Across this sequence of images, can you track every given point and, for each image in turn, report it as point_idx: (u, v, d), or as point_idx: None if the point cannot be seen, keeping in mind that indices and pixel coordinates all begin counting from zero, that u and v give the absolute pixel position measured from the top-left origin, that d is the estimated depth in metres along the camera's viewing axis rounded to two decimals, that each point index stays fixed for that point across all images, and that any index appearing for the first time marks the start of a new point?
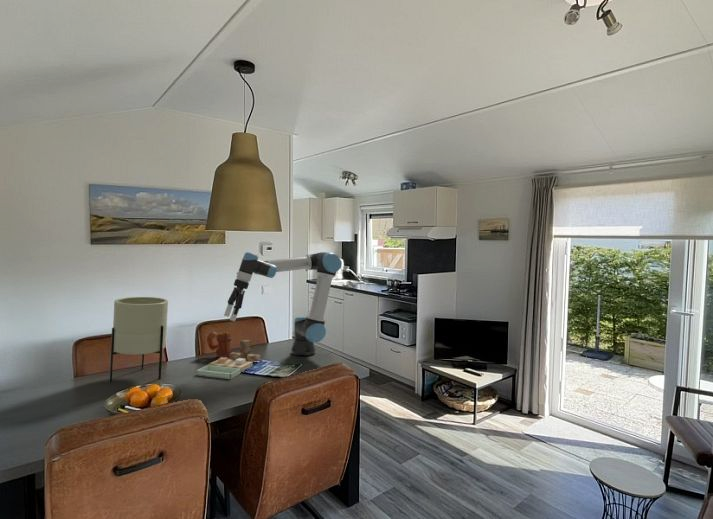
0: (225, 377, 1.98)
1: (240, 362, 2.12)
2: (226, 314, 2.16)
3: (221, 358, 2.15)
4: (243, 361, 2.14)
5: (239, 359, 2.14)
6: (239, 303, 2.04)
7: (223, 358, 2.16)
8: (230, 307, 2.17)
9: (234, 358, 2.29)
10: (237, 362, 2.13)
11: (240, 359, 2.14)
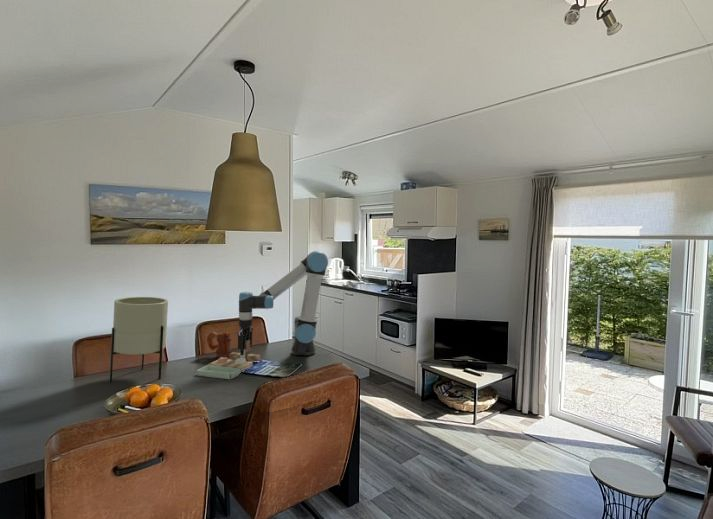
0: (225, 377, 1.98)
1: (240, 362, 2.12)
2: None
3: (221, 358, 2.15)
4: (243, 361, 2.14)
5: (239, 359, 2.14)
6: (239, 345, 2.23)
7: (223, 358, 2.16)
8: None
9: (234, 358, 2.29)
10: (237, 362, 2.13)
11: (240, 359, 2.14)
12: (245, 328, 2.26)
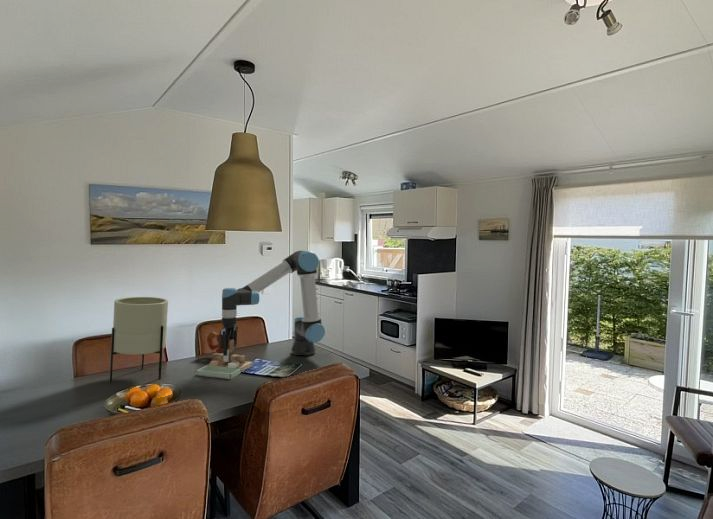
0: (225, 377, 1.98)
1: (233, 366, 2.06)
2: None
3: (214, 361, 2.10)
4: (236, 365, 2.07)
5: (232, 363, 2.08)
6: (222, 345, 2.07)
7: (216, 361, 2.11)
8: None
9: (217, 359, 2.13)
10: (230, 366, 2.06)
11: (233, 363, 2.08)
12: (228, 327, 2.10)
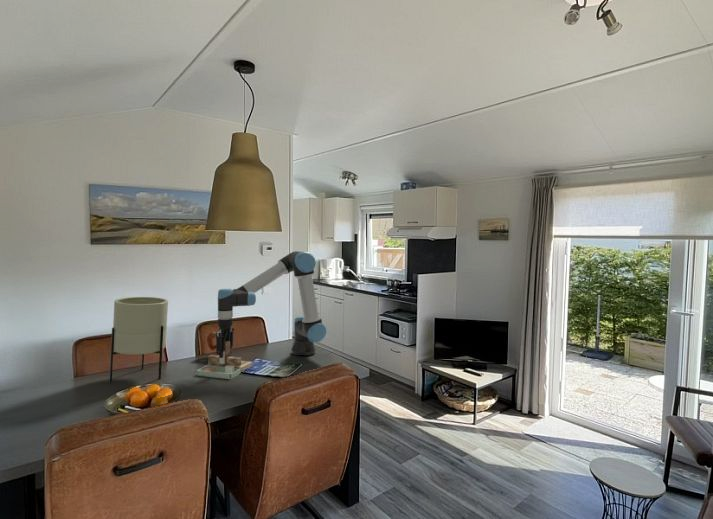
0: (225, 377, 1.98)
1: None
2: None
3: None
4: (232, 370, 2.04)
5: (227, 371, 2.04)
6: (218, 347, 2.03)
7: None
8: None
9: (213, 361, 2.09)
10: None
11: (228, 370, 2.03)
12: (224, 328, 2.06)
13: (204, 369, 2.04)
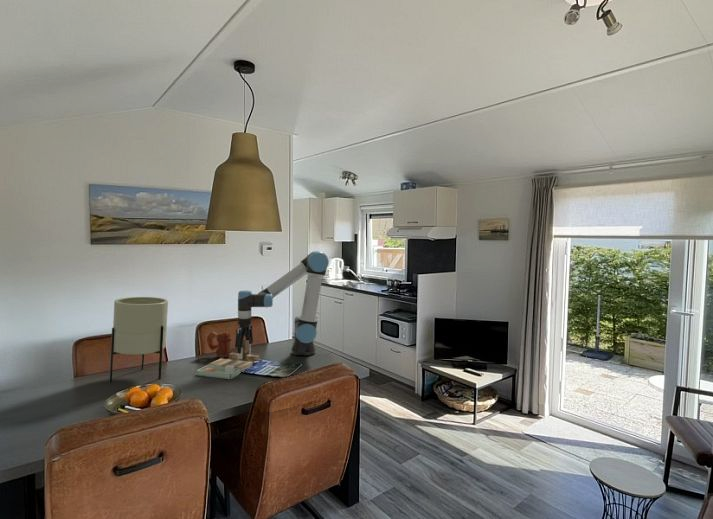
0: (225, 377, 1.98)
1: None
2: None
3: None
4: (232, 370, 2.04)
5: (227, 371, 2.04)
6: (236, 343, 2.20)
7: None
8: None
9: (233, 358, 2.28)
10: None
11: (228, 370, 2.03)
12: (244, 327, 2.25)
13: (204, 369, 2.04)
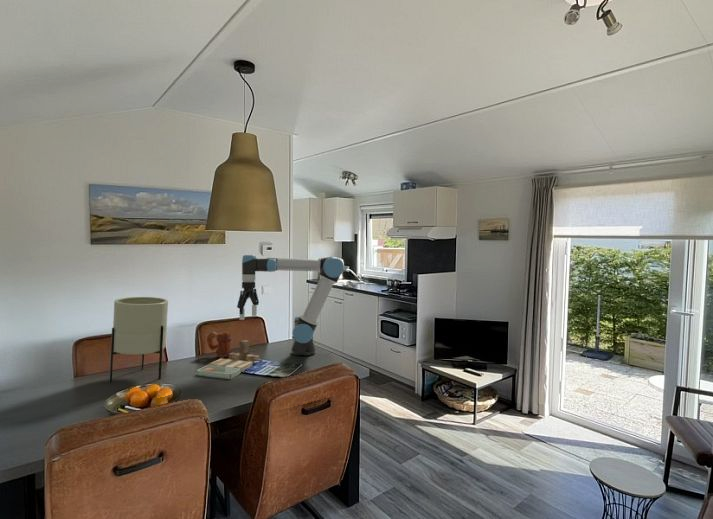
0: (225, 377, 1.98)
1: None
2: (253, 314, 2.37)
3: None
4: (232, 370, 2.04)
5: (227, 371, 2.04)
6: (239, 303, 2.21)
7: None
8: (254, 307, 2.37)
9: (233, 358, 2.28)
10: None
11: (228, 370, 2.03)
12: (248, 291, 2.28)
13: (204, 369, 2.04)
